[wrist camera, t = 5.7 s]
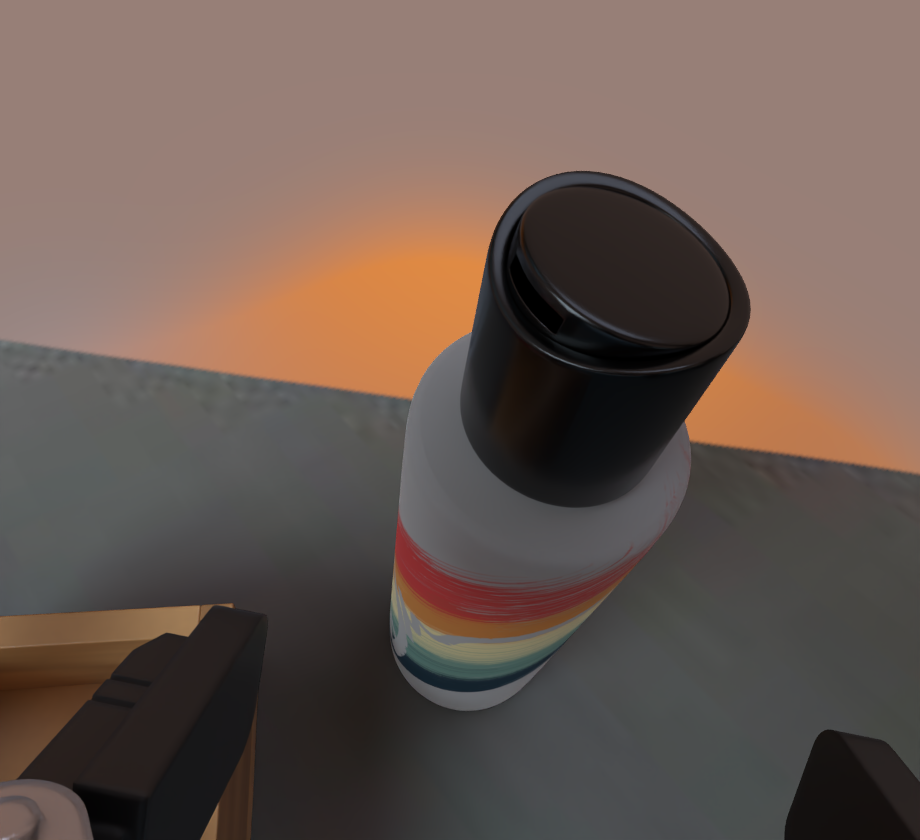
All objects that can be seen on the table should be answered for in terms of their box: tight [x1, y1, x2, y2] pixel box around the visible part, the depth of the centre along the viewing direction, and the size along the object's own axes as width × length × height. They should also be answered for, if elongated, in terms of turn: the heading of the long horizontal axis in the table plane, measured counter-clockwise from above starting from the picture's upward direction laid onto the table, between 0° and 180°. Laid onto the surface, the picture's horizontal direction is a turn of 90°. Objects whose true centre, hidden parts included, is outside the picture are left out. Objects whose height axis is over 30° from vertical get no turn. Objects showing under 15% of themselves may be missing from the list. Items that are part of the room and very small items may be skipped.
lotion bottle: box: [390, 171, 750, 711], centre depth 18 cm, size 6×6×20 cm
